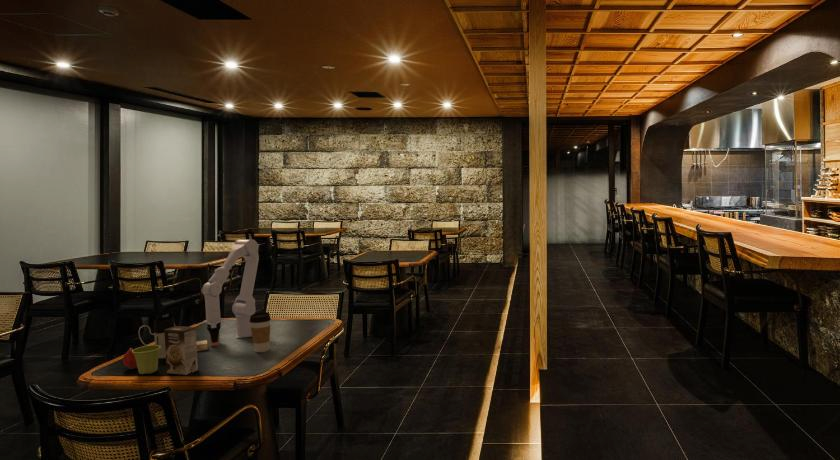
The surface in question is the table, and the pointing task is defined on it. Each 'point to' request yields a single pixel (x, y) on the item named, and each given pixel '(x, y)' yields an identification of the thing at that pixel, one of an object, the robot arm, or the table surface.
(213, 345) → the painted block
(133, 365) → the onion
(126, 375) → the table surface
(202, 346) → the birch base
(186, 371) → the coffee box
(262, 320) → the coffee cup
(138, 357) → the plant pot
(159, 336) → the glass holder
